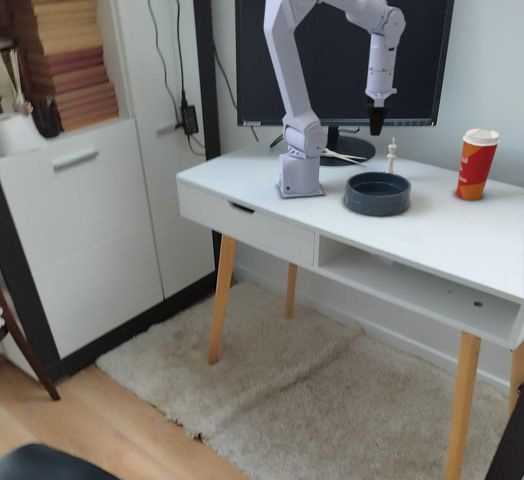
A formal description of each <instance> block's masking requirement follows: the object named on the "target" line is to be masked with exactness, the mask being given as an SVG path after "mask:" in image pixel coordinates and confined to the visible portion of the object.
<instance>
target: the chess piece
mask: <svg viewBox="0 0 524 480" xmlns="http://www.w3.org/2000/svg"><path fill="white" fill-rule="evenodd" d="M395 139H396V137H395V136H393V137H392V139H391V143H390V144H389V145H388V146H387V147H388V152H389V153H388V154H387V155H386V157H387V158H388V162H387V165H386V169H385V171H384V172H387V173H393V174H396V175H399V174H398V173H396V172H395V171H394V159H395V158H396V157H397V155H396V154H395V152H396V150H397V148H398V145H397V144H395V143H396V141H395Z"/></svg>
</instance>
